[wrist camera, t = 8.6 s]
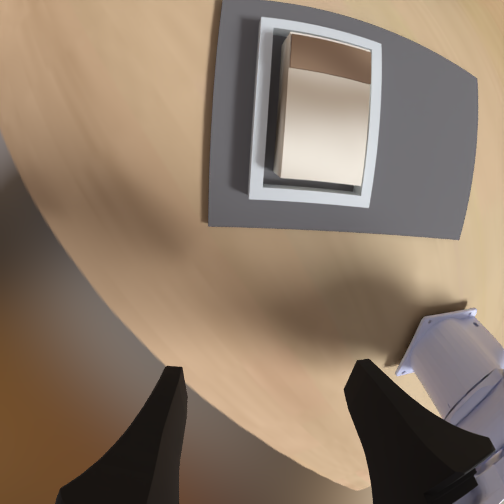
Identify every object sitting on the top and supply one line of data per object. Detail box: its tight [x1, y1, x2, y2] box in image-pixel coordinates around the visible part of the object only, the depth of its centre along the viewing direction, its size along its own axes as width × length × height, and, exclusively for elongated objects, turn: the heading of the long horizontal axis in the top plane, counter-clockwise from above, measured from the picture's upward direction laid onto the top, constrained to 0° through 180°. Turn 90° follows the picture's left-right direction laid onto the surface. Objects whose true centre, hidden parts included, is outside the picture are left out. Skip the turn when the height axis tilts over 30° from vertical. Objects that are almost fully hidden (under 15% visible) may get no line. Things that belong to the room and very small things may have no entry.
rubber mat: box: [208, 0, 478, 240], centre depth 15 cm, size 21×15×1 cm
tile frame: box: [248, 17, 382, 208], centre depth 14 cm, size 7×11×1 cm
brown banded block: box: [273, 32, 371, 186], centre depth 13 cm, size 8×4×3 cm, turn 176°
